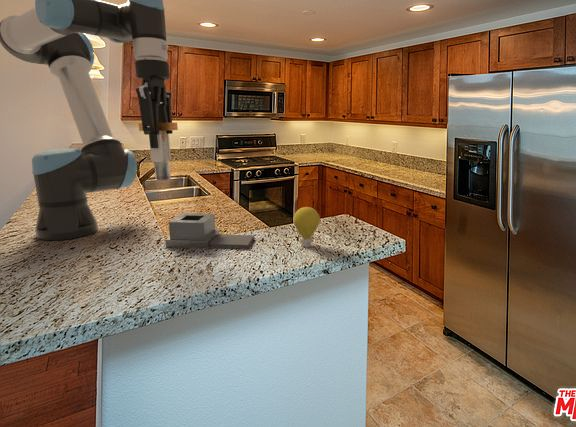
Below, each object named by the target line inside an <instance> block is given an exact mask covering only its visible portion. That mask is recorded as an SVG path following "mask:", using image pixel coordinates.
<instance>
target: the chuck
mask: <svg viewBox="0 0 576 427" xmlns="http://www.w3.org/2000/svg"><path fill="white" fill-rule="evenodd" d="M215 215H216V214H215V213H196V212H195V213H188V212H187V213H186V212H185V213H184V212H183V213H181V214H179V215H177V216H176V217H174V218H173V219H171V220H169V221H168V230H169V237H167V238H166V239H165V240H164V242H165V248H178V249H181V248H182V249H203V248H205V249H208V250H209V249H210V245H209V244H210V243H211V242H212V241H213V240H214V239H215V237H216V236H217V235H218V234H221V232H220V231H221V230H220V229H216V216H215ZM179 247H181V248H179Z"/></svg>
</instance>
